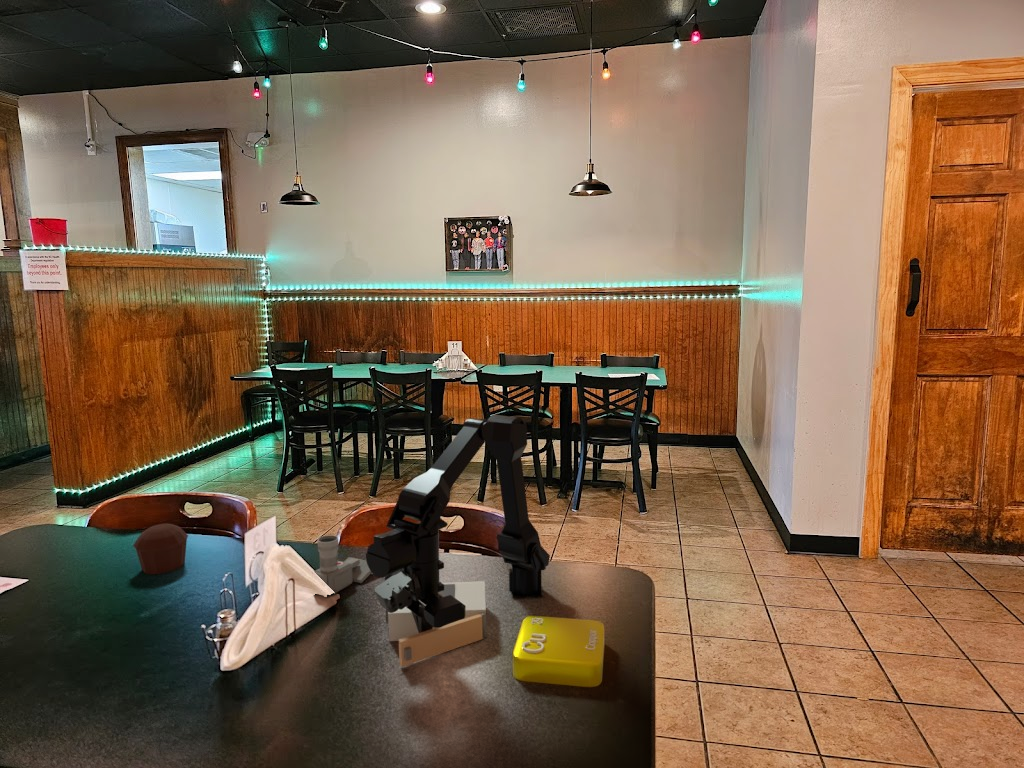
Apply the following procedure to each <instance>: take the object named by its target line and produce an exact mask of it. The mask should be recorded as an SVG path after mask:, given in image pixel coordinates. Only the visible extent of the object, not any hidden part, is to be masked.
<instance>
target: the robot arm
mask: <svg viewBox="0 0 1024 768" xmlns="http://www.w3.org/2000/svg"><path fill="white" fill-rule="evenodd" d="M484 444H486V447H487V449H488V450H489V452H490V453H491V454H492V456H493V457H494V459H495V460H496V465H497V471H498V473H497V474H498V479H499V487H500V494H501V503H502V509H503V515H504V516H503V517H504V525H503V528H502V529H501V531H500V532H499V533H497V535H496V539H497V544H498V545H497V551H498V552H500V555H501V556H502V559H503V562H504V563H505V564H509V565H510V568H508V591H509V593H511V597H512V599H529V598H543V597H544V594H543V590H542V589H543V587H542V585H543V584H542V578H543V577H542V571H545V570H546V567H548V566H549V563H550V558H551V556H550V553H548V552H547V550H546V549H544V547H543V546H542V544H541V540H540V537H539V532H538V530H537V529H536V528H535V526H534V525H533V523H531V520H530V519H529V511H528V509H529V508H528V503H527V495H526V487H525V478H524V470H523V463H522V456H523V453H524V451H525V449H526V447H527V446H528V426H527V424H526V421H525V420H523V419H522V418H521V417H517V416H507V415H501V414H492V415H491V416H489V417H488V419H487V418H473V417H471V418H467V419H465V420H464V422H463V424H462V428H461V429H460V431H459V432H458V433H457V434H456V436H455V437H454V438H453V439H452V440H451V442H450V443H449V445H448V446H447V447H446V449H444V451H443V452H442V453H441V455H440V456H439V457H438V459H436V461H435V462H434V463H433V465H432V466H431V467H430V468H429V469H428V470H427V471H426V472H424V473H422V474H420V475H418V476H416V477H414V478H413V479H412V480H411V481H409V483H407V485H406V486H404V487H403V488H402V490H401V491H400V493H399V494H398V497H397V501H396V504H395V506H394V507H393V510H392V512H391V515H390V516H389V519H388V521H387V523H386V528H388V529H391V530H389V531H387V532H383V533H378V534H376V535H374V536H373V543H371V544H370V545H369V546H368V548H367V550H366V552H365V560H366V561H367V565H368V567H369V569H370V571H371V572H372V573H371V574H372V575H374V576H375V577H377V578H379V579H383V578H384V581H383V582H381V583H380V584H378V585H377V586H375V588H374V593H375V595H376V597H377V600H378V602H379V604H380V606H381V607H383V608H384V609H385V611H386V610H387V611H388V612H389V613H393V612H396V611H397V610H398V609H403V608H405V607H407V608H408V609H409V610H410V611H411V612H412V615H413V617H414V620H415V623H416V626H417V629H418V632H419V633H421V632H424V631H427V630H430V629H432V628H433V627H436V628H440V627H442V626H445V625H448V624H450V623H453V622H456V621H458V620H461V619H464V618H465V616H466V606H465V605H464V604H463V603H461V602H460V601H459V600H457V599H456V598H454V597H453V596H451V595H448V596H444V595H442V594H441V593H439V592H440V591H443V590H444V584H442V583H443V582H441V581H440V570H442V569H445V562H444V561H442V560H441V559H440V540H439V538H440V534H439V533H440V532H439V530H441V529H444V528H447V526H448V522H447V521H445V520H444V519H442V518H441V517H442V515H443V513H444V512H445V510H446V508H447V506H448V504H449V502H450V498H451V489H452V488H453V486H454V484H455V483H456V482H457V480H458V479H459V477H460V476H461V475H462V473H463V472H464V470H465V469H466V468H467V467H468V465H469V464H470V463H471V461H472V460H473V459H474V457H475V456H476V455H477V453H479V451H480V450H481V448H482V446H483V445H484ZM404 518H409V519H410V520H411V519H412V520H416V521H417V522H412V521H410V520H405V519H404Z"/></svg>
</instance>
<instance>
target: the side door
mask: <svg viewBox="0 0 1024 768" xmlns="http://www.w3.org/2000/svg"><path fill="white" fill-rule="evenodd" d="M484 639H487V613H486V614H485V613H481V614H478V615H475V616H471V617H468V618H465V619H462V620H459V621H456V622H453V623H450V624H448V625H445V626H442V627H440V628H434V629H430V630H427V631H424V632H421V633H418V634H415V635H412V636H408V637H405V638H402V639H399V641H398V657H399V665H400V666H401V667H404V666H408V665H411V664H414V663H417V662H420V661H422V660H425V659H429V658H431V657H434V656H438V655H440V654H443V653H446V652H448V651H451V650H455V649H457V648H460V647H463V646H466V645H470V644H472V643H475V642H479V641H481V640H484Z"/></svg>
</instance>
